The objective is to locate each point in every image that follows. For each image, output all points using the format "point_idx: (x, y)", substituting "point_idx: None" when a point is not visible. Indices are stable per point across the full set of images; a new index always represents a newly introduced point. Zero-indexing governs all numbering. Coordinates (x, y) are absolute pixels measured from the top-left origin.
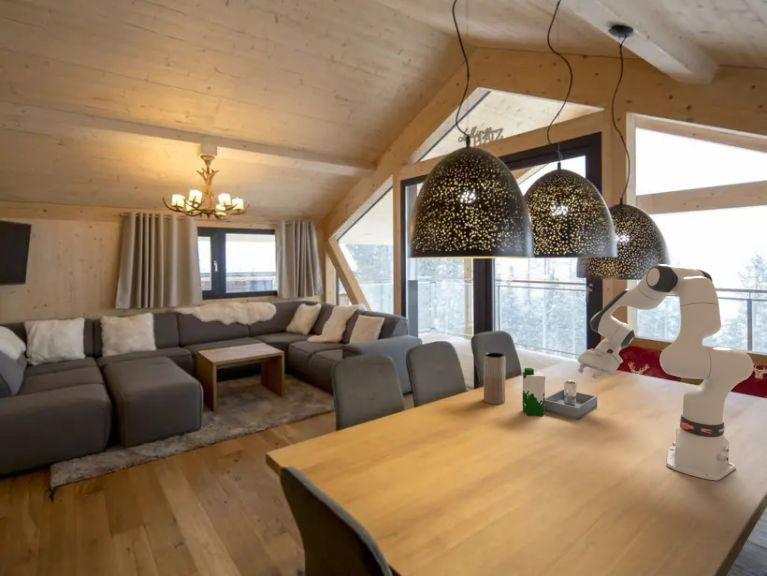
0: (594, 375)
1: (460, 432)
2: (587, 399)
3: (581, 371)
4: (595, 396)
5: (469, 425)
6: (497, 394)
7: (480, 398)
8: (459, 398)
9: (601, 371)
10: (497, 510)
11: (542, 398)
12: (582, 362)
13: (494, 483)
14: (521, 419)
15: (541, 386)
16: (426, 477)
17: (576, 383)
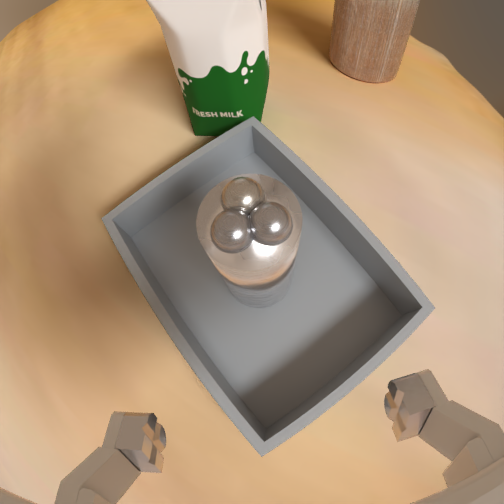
0: (115, 420)
1: None
2: (300, 408)
3: (396, 405)
4: (260, 443)
5: None
6: (332, 31)
7: None
8: None
9: (68, 496)
10: (4, 58)
11: (180, 79)
12: (501, 457)
13: (28, 50)
14: None
15: (162, 30)
16: (76, 7)
17: (221, 262)
